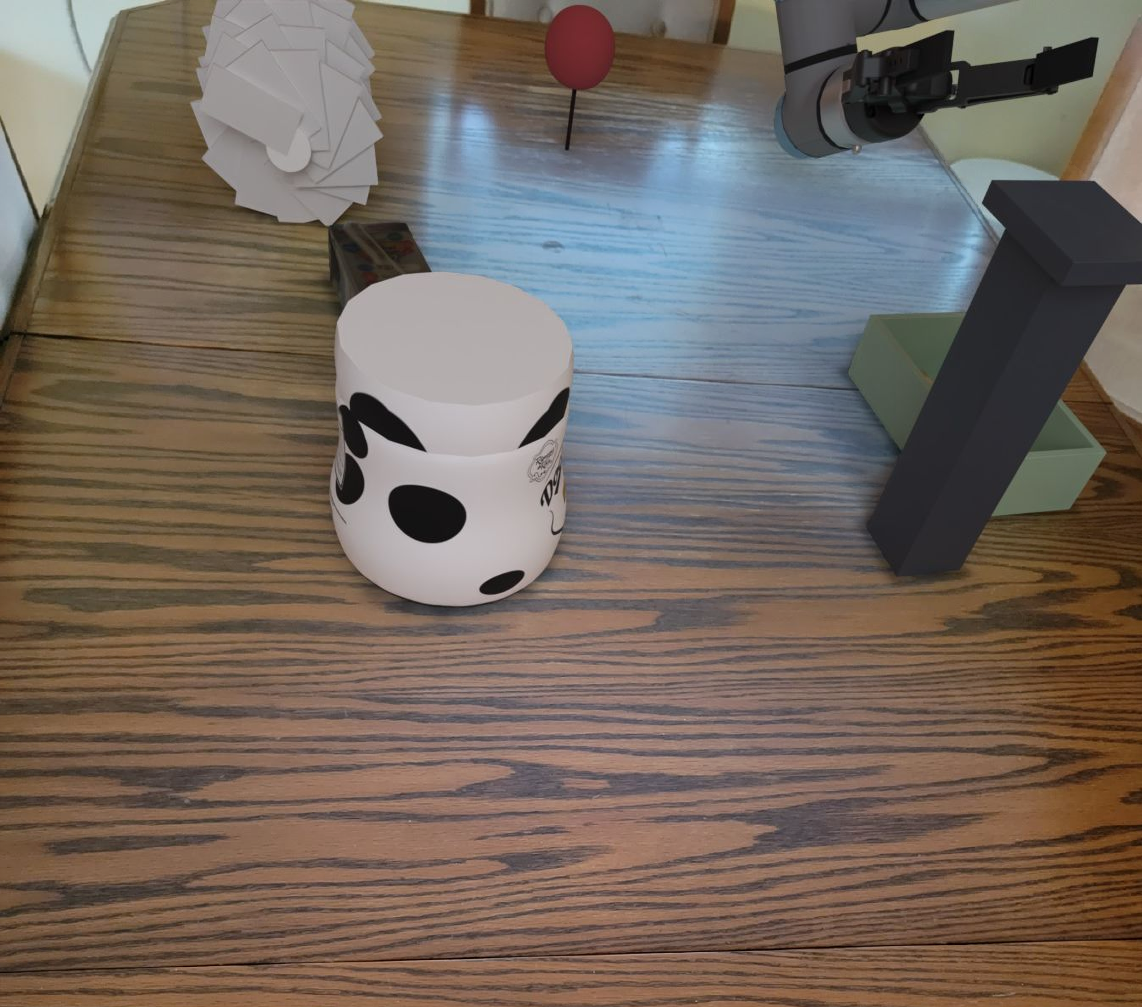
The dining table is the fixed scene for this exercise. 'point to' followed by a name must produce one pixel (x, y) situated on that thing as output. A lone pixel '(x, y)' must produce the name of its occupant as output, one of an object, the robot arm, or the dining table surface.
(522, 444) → the milk container
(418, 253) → the beverage carton
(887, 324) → the bin
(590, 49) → the lollipop
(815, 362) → the dining table surface
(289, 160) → the spiral staircase
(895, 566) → the dark capped post
